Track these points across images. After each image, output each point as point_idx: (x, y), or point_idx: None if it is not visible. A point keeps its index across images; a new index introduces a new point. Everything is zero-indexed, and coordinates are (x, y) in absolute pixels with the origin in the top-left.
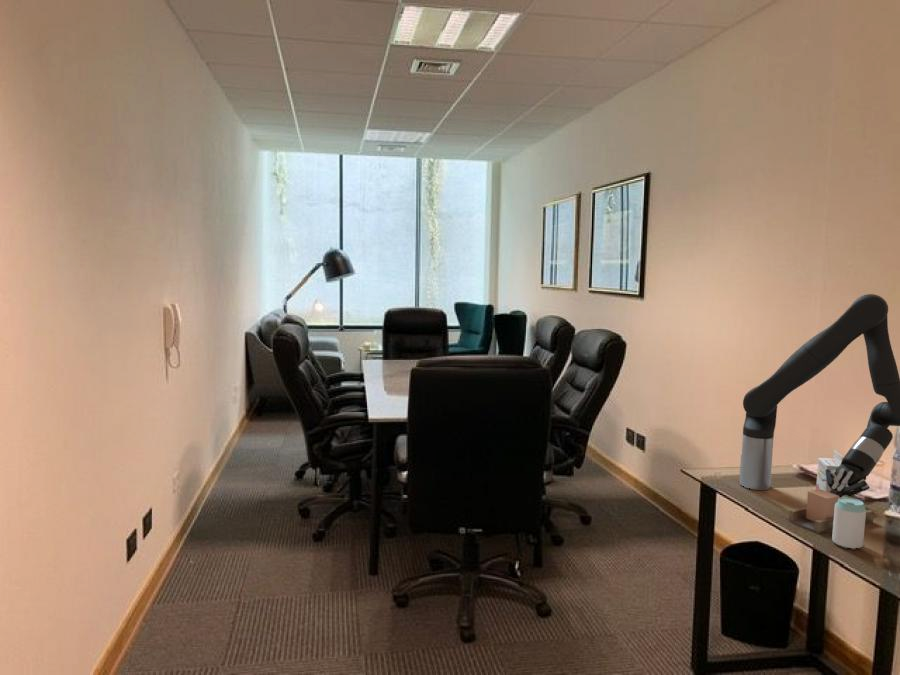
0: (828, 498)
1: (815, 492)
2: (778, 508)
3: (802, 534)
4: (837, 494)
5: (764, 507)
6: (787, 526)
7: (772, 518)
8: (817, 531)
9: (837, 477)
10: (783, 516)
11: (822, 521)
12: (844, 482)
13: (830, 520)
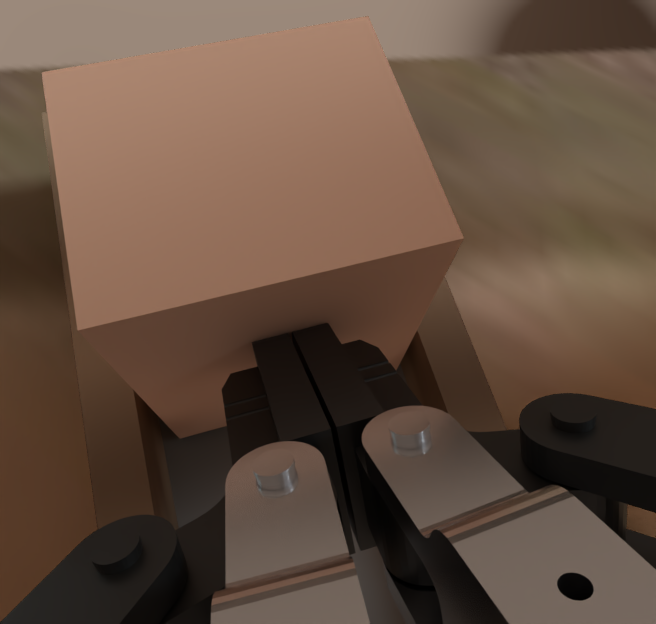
0: (48, 104)
1: (313, 79)
2: (621, 204)
3: None
4: (264, 439)
5: (631, 119)
6: None
7: (409, 59)
8: None
9: (614, 579)
10: (446, 146)
11: (52, 153)
12: (256, 612)
13: (60, 247)
